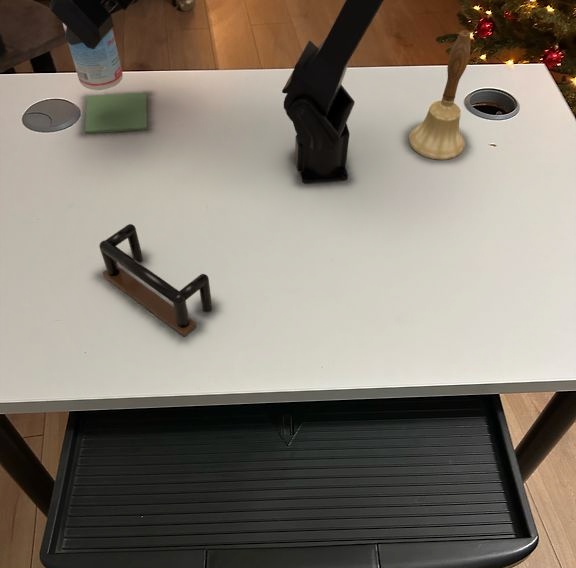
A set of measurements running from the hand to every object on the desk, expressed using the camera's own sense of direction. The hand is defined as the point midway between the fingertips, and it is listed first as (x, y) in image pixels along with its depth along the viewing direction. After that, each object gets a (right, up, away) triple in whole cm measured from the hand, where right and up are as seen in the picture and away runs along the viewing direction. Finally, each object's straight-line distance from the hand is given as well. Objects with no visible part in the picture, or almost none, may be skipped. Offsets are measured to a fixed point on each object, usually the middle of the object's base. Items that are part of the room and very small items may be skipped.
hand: (80, 29), depth 80 cm
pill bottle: (+1, -4, +5) cm, 7 cm away
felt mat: (+1, -6, +12) cm, 14 cm away
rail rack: (+12, -36, -7) cm, 39 cm away
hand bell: (+50, -11, +10) cm, 52 cm away
